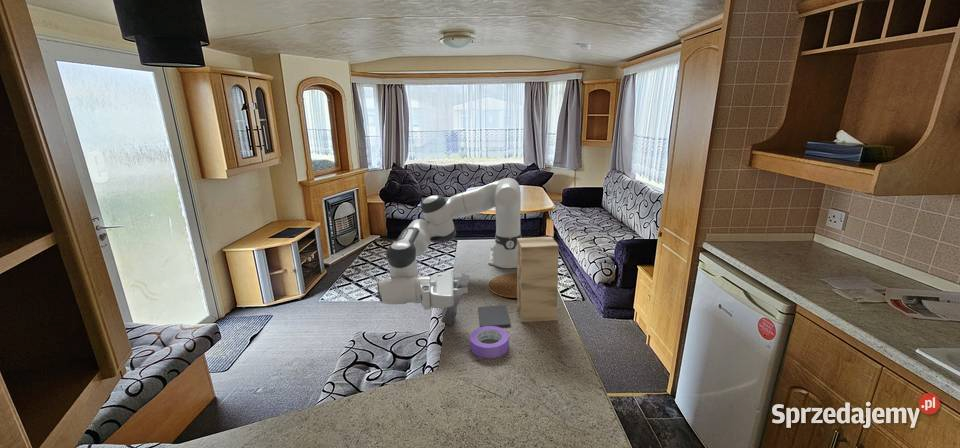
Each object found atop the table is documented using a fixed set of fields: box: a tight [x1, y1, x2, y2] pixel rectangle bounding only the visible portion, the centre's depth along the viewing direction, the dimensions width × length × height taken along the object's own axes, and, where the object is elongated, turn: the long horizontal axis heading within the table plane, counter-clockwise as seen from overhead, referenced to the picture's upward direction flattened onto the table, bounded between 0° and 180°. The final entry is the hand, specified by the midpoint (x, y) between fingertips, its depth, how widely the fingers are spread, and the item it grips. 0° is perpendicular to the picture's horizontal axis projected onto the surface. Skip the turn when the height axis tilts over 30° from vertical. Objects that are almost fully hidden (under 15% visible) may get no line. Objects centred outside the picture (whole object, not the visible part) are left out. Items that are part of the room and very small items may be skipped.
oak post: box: [516, 236, 560, 323], centre depth 133 cm, size 9×12×27 cm
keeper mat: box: [477, 304, 511, 328], centre depth 136 cm, size 13×10×1 cm
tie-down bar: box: [441, 272, 470, 326], centre depth 132 cm, size 7×17×4 cm
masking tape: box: [469, 326, 510, 359], centre depth 119 cm, size 12×12×4 cm
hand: (467, 286), depth 131 cm, fingers closed on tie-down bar, 3 cm apart
